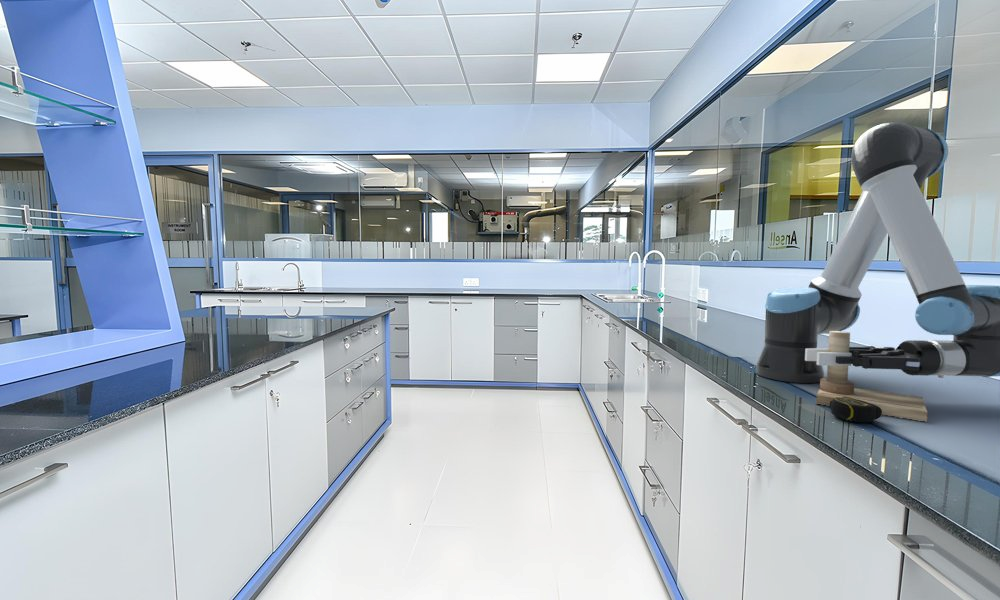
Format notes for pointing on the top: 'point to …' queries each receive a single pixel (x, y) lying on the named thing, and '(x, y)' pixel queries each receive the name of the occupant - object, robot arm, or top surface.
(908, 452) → the top surface
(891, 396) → the board
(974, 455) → the top surface
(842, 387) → the wooden peg with base
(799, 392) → the top surface
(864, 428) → the top surface
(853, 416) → the tape measure
